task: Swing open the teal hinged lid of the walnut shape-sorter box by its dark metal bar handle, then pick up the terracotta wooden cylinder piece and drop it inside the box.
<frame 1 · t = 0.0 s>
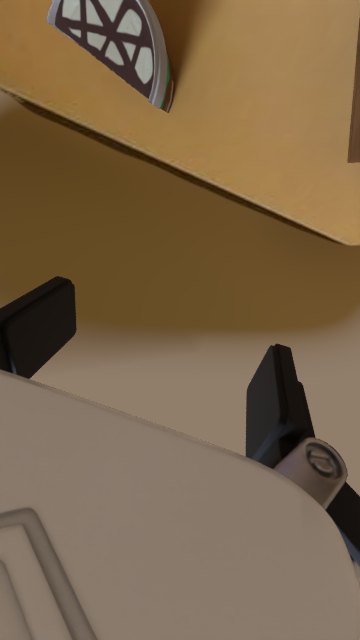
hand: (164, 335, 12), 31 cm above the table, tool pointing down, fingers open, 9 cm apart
food container: (149, 60, 30), on the table
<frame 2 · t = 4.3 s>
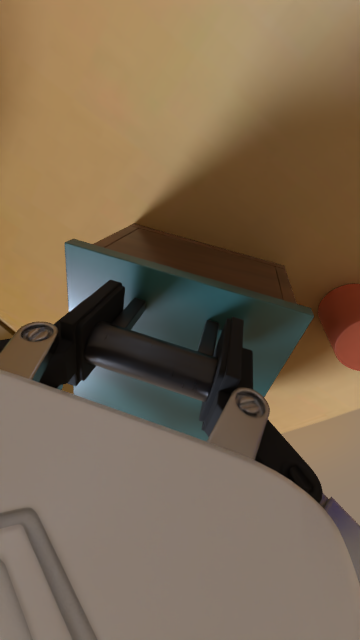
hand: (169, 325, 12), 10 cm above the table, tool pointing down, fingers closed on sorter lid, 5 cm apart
sorter box: (185, 325, 25), on the table
sorter lid: (147, 416, 15), point 11 cm above the table, hinge at 0.0°, touching gripper
cylinder piece: (348, 308, 20), on the table
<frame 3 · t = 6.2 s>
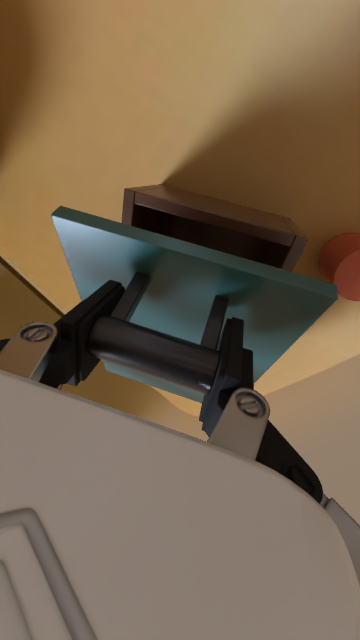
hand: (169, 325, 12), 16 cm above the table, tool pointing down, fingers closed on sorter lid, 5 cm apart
sorter box: (201, 280, 28), on the table
sorter lid: (162, 374, 16), point 14 cm above the table, hinge at 22.9°, touching gripper
cylinder piece: (344, 257, 23), on the table
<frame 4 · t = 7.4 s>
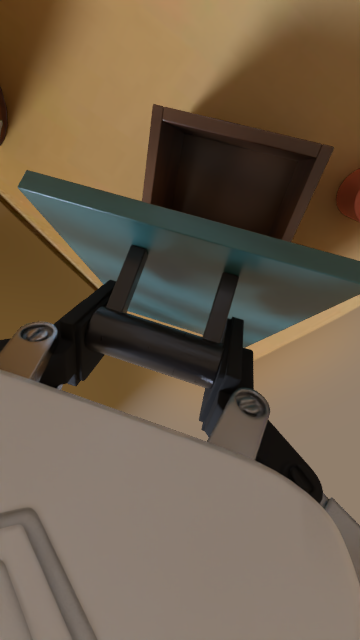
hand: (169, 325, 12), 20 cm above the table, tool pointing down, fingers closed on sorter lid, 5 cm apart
sorter box: (218, 226, 28), on the table
sorter lid: (175, 331, 16), point 17 cm above the table, hinge at 45.0°, touching gripper
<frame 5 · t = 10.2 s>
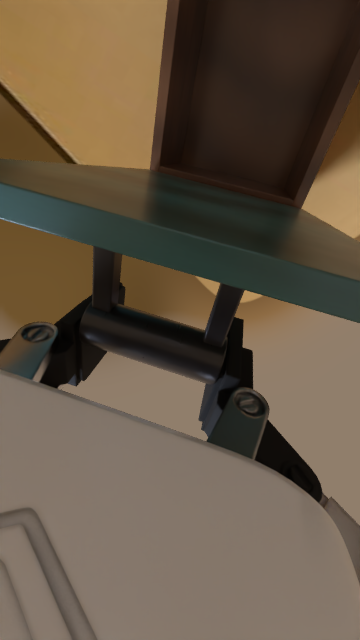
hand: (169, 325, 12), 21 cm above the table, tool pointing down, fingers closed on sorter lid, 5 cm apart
sorter box: (258, 79, 22), on the table
sorter lid: (196, 249, 14), point 18 cm above the table, hinge at 86.1°, touching gripper
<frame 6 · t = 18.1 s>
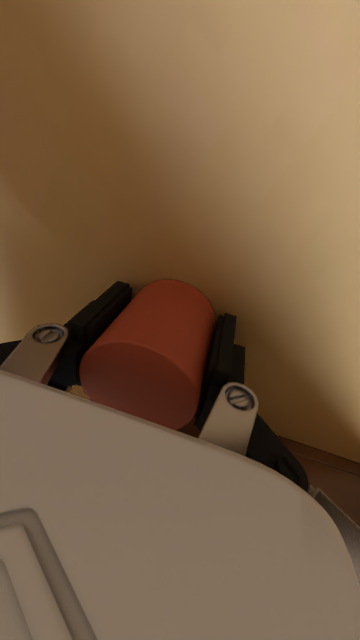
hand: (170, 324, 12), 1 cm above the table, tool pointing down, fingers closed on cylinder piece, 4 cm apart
sorter box: (221, 472, 19), on the table
cylinder piece: (172, 319, 13), on the table, touching gripper
when the fingers open (7 cm above the table, at t = 26.6 s): cylinder piece drops 5 cm, resting on sorter box.
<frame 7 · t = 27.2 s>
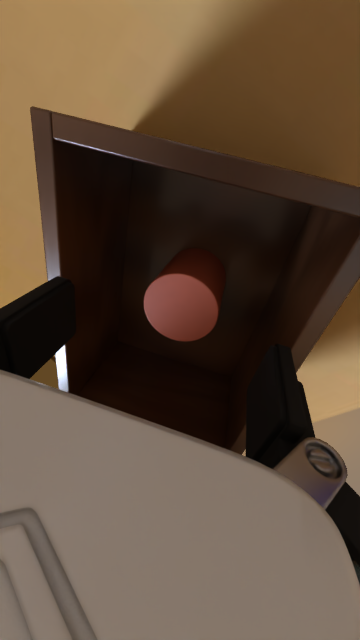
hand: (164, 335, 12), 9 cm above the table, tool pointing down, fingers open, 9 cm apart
sorter box: (194, 282, 19), on the table
cylinder piece: (195, 278, 18), point 1 cm above the table, touching sorter box
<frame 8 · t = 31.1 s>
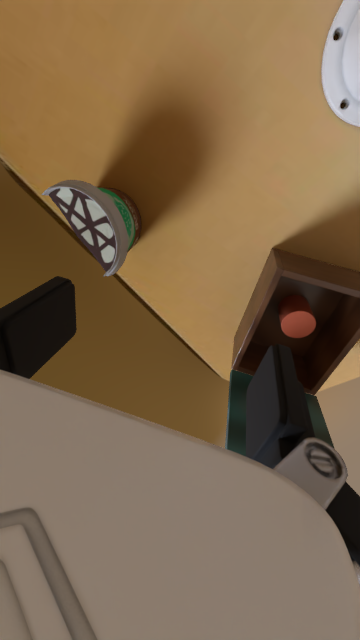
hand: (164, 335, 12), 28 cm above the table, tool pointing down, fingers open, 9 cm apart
sorter box: (289, 309, 39), on the table
sorter lid: (272, 446, 30), point 18 cm above the table, hinge at 86.2°
food container: (126, 211, 37), on the table
cylinder piece: (293, 307, 38), point 1 cm above the table, touching sorter box
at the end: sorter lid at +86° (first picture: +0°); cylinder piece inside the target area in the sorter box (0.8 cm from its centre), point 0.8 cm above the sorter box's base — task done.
